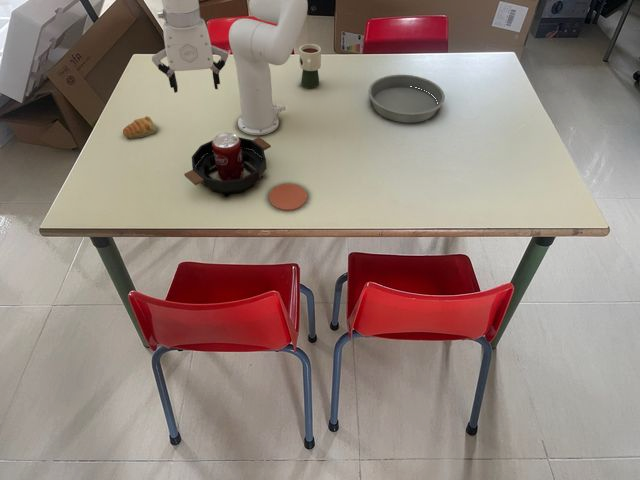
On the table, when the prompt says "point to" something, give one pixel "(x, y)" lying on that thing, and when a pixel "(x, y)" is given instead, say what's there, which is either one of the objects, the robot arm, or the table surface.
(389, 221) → the table surface
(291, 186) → the coaster
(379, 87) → the cake pan
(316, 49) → the character mug
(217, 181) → the wok
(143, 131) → the pastry
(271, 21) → the robot arm
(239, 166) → the soda can
